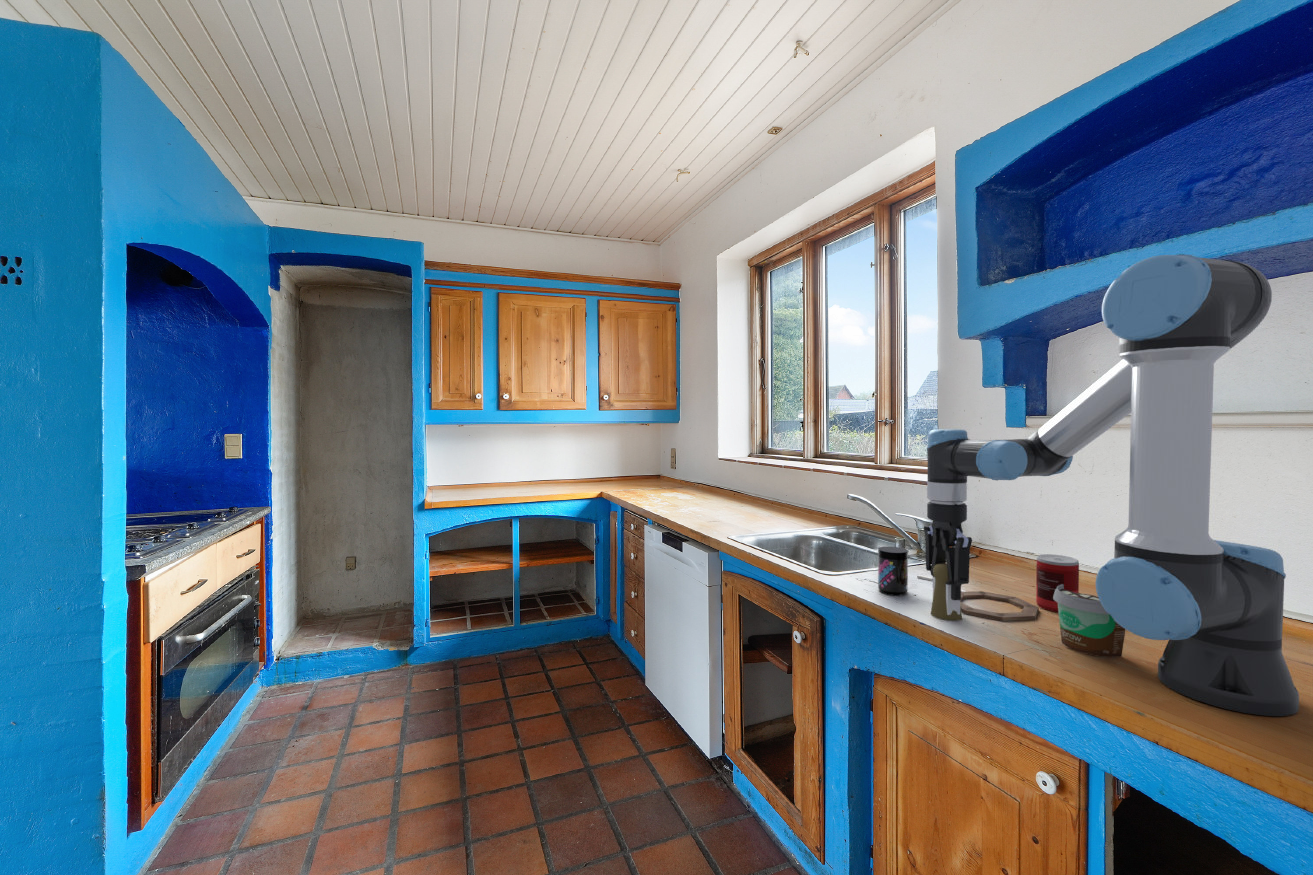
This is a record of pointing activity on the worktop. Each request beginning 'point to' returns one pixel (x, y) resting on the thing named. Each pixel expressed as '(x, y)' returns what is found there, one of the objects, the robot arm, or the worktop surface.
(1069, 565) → the canned food
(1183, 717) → the worktop surface
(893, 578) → the supplement container
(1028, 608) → the ring
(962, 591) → the lace cord
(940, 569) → the olive green pawn
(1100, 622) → the food container
